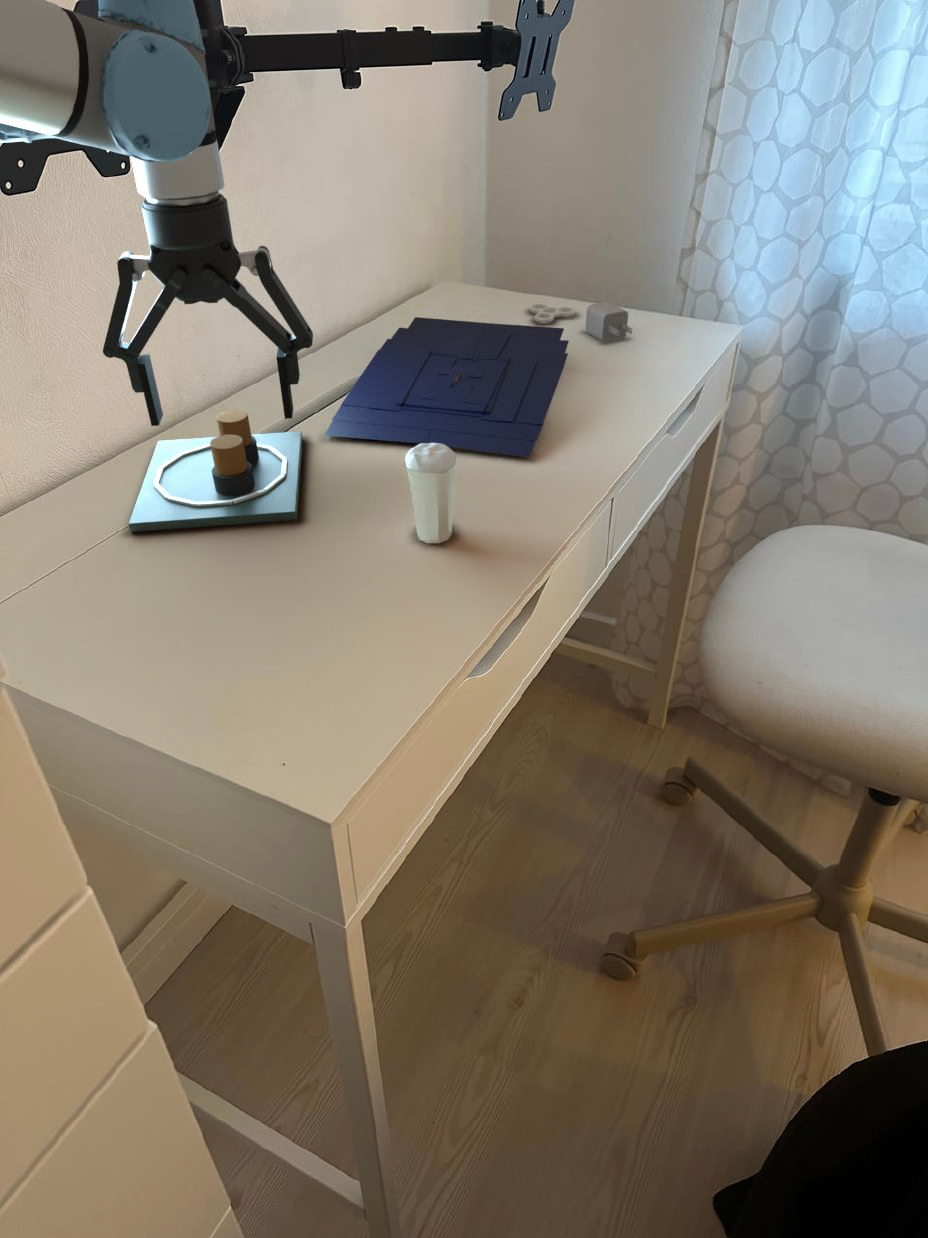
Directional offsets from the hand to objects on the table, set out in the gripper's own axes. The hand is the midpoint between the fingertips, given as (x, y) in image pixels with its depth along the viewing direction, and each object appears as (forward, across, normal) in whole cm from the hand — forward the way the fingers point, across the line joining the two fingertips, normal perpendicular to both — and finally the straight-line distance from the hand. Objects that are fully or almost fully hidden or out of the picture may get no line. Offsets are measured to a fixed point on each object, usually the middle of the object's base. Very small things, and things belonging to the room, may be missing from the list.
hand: (223, 417), depth 93 cm
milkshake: (+6, -20, +17) cm, 27 cm away
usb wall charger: (+5, -49, -31) cm, 59 cm away
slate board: (+6, +1, +3) cm, 7 cm away
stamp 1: (+5, -1, 0) cm, 5 cm away
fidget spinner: (+5, -42, -41) cm, 59 cm away
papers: (+6, -26, -15) cm, 31 cm away
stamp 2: (+5, -1, +6) cm, 8 cm away
